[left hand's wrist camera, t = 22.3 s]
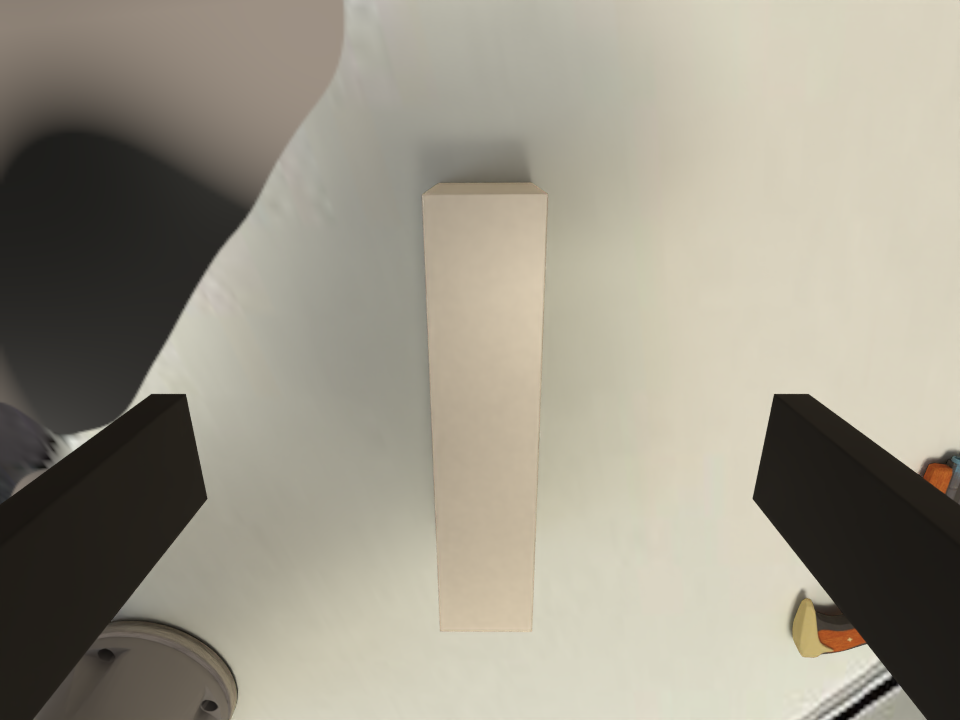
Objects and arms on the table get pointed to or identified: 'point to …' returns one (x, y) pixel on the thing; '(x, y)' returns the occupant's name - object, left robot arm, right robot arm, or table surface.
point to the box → (485, 396)
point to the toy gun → (836, 631)
